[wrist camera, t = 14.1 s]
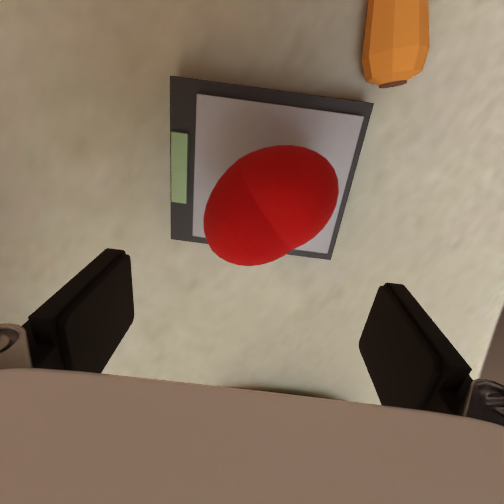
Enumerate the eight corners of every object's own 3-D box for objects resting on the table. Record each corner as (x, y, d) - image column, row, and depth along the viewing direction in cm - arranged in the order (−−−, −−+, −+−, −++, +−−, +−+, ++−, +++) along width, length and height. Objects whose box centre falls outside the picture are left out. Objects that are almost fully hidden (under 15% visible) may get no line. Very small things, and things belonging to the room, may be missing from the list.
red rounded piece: (294, 112, 23) (311, 115, 14) (336, 187, 25) (374, 232, 16) (201, 179, 25) (164, 219, 16) (247, 241, 28) (237, 305, 19)
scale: (177, 229, 31) (168, 242, 28) (178, 78, 25) (166, 74, 22) (326, 249, 31) (332, 264, 28) (364, 103, 25) (377, 103, 22)
